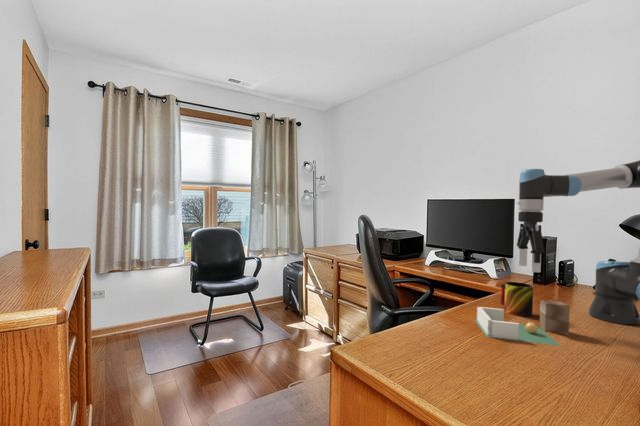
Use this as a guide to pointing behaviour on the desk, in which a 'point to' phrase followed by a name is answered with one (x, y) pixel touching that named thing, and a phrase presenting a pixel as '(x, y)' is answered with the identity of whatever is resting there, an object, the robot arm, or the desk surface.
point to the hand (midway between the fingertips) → (528, 268)
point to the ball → (531, 327)
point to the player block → (554, 316)
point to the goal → (496, 323)
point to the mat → (528, 336)
